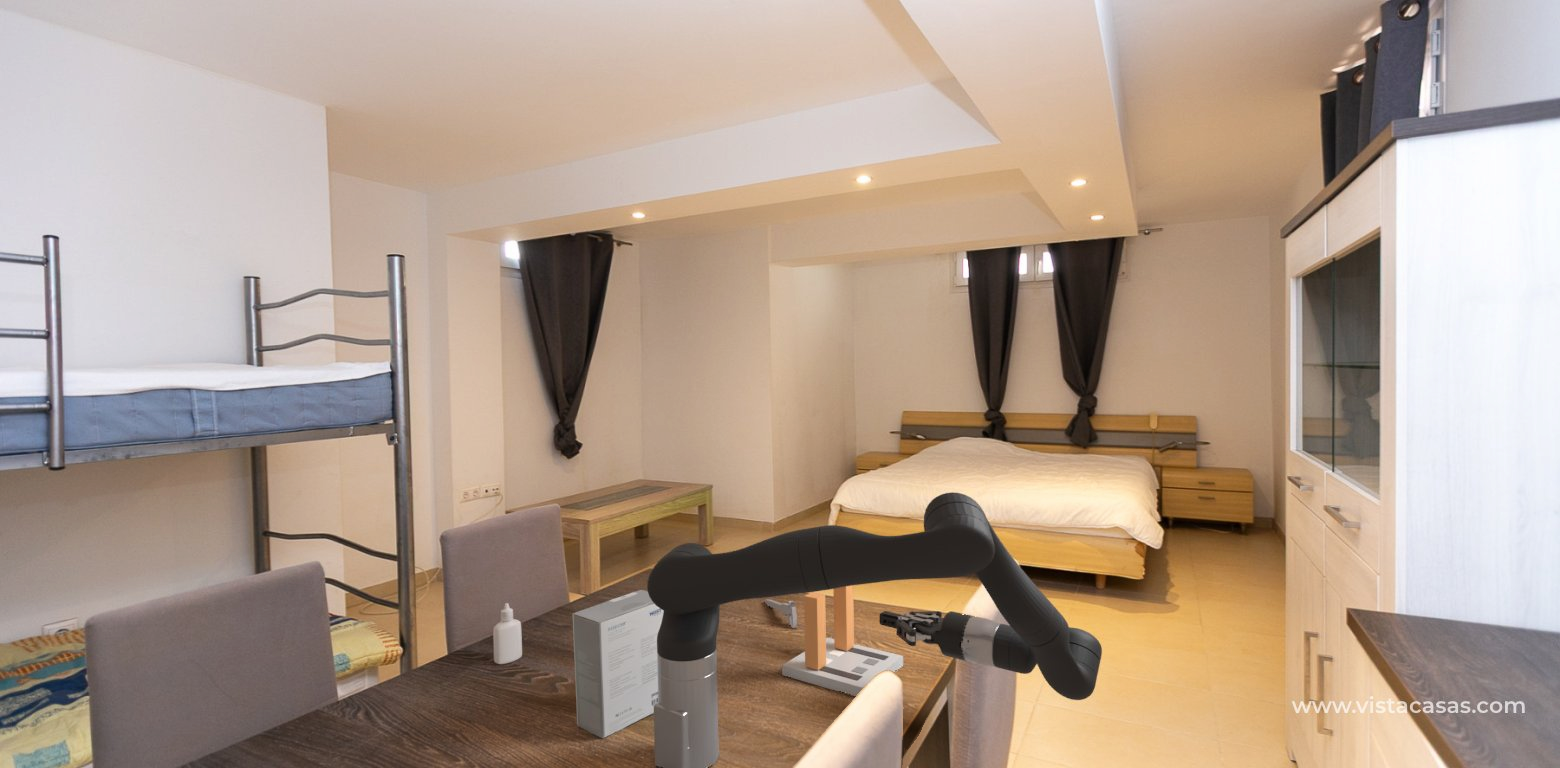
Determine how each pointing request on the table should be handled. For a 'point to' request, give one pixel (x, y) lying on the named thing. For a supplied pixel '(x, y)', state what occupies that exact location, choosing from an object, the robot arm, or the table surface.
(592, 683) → the hard drive box
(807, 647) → the switch tab
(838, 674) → the switch panel
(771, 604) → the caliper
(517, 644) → the eye dropper bottle
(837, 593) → the switch tab
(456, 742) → the table surface
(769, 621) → the table surface
